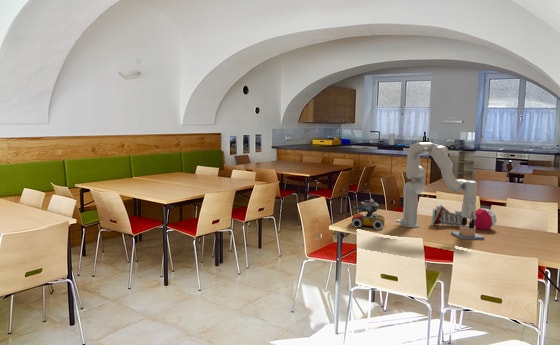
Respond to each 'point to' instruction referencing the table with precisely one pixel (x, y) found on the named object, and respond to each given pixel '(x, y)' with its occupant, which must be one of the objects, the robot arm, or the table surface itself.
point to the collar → (467, 231)
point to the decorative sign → (446, 217)
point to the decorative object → (485, 219)
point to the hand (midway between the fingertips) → (467, 226)
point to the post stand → (460, 236)
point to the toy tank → (368, 215)
